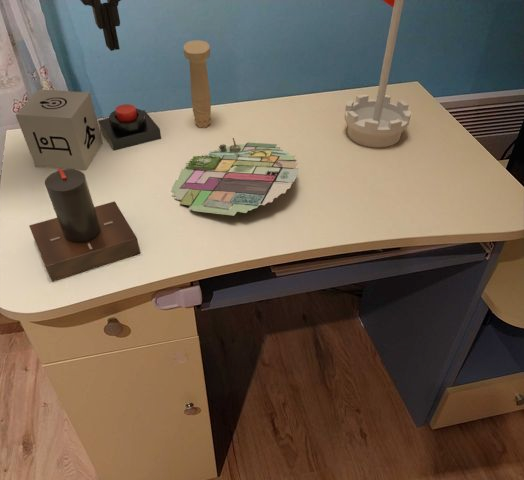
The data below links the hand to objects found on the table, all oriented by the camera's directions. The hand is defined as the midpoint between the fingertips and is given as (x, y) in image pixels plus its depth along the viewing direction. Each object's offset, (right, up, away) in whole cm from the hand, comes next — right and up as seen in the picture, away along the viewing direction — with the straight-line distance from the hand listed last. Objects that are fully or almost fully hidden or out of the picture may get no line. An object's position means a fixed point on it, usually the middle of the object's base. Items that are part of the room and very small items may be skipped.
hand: (112, 47), depth 90 cm
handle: (+14, -7, +16) cm, 23 cm away
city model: (+22, -24, +2) cm, 33 cm away
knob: (-1, -36, -12) cm, 38 cm away
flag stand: (+50, -10, +14) cm, 53 cm away
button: (0, -8, +10) cm, 13 cm away
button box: (0, -10, +13) cm, 16 cm away
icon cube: (-11, -17, +8) cm, 21 cm away
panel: (-1, -38, -10) cm, 39 cm away
